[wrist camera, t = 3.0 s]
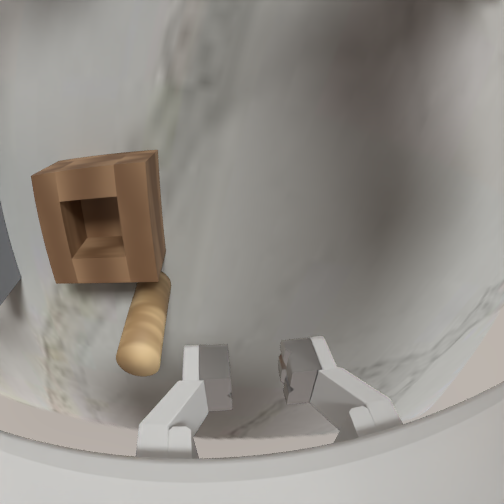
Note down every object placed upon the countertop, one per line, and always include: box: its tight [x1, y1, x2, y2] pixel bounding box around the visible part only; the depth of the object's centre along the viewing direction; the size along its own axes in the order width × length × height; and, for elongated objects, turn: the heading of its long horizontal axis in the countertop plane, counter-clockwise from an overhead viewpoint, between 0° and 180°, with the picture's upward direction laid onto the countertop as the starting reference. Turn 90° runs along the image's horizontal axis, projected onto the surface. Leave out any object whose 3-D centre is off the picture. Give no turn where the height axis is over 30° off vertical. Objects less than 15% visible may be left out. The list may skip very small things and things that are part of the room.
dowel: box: [116, 272, 171, 376], centre depth 24 cm, size 3×3×10 cm
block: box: [31, 150, 166, 283], centre depth 22 cm, size 9×9×5 cm
